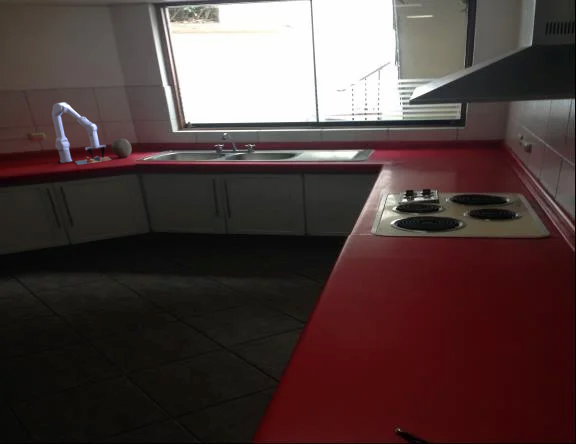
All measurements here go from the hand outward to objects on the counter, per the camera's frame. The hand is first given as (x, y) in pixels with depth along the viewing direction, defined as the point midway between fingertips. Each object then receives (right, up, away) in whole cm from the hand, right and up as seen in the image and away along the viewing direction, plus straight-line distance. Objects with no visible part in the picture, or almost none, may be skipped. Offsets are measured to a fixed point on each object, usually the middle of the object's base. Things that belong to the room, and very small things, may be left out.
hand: (97, 158), depth 319 cm
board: (-3, -2, 0) cm, 4 cm away
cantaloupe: (+18, +1, +5) cm, 18 cm away
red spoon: (-6, -3, -2) cm, 7 cm away
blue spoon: (-1, -1, +2) cm, 2 cm away
